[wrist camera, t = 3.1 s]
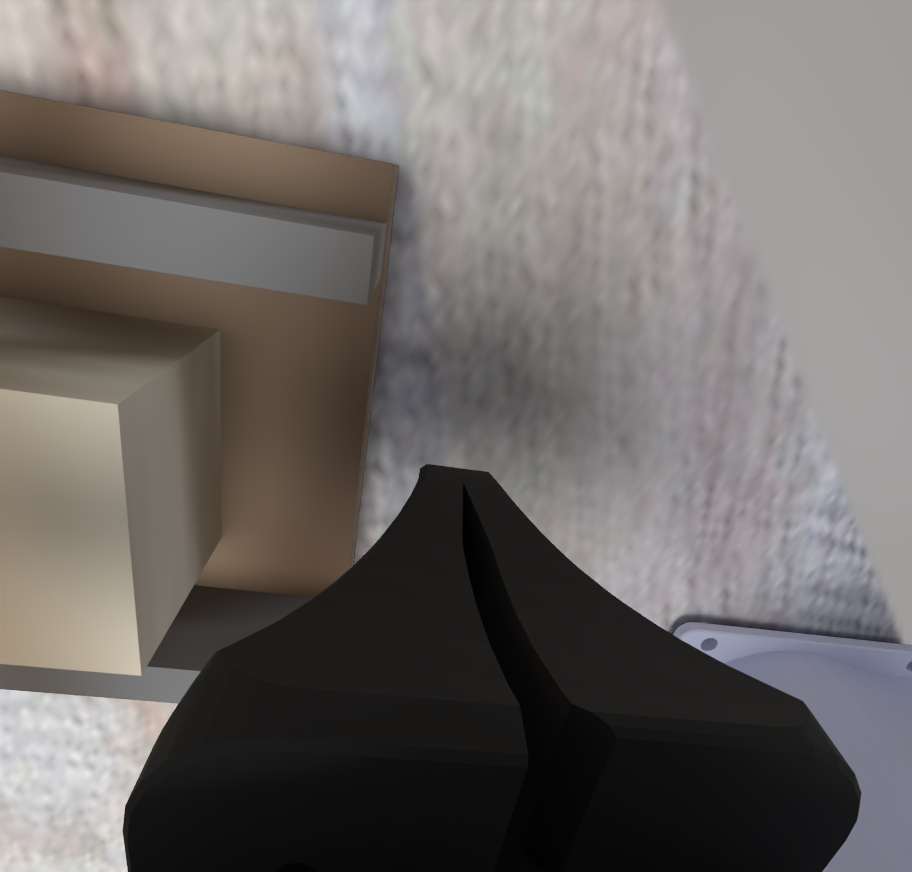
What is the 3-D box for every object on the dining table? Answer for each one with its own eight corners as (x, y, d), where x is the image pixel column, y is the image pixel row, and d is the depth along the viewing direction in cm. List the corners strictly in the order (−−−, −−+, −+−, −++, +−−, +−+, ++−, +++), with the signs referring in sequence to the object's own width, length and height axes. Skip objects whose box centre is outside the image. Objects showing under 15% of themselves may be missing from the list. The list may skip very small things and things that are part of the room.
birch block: (220, 329, 11) (117, 404, 7) (221, 537, 13) (141, 676, 9) (-54, 288, 11) (-308, 347, 7) (-8, 512, 13) (-186, 648, 9)
